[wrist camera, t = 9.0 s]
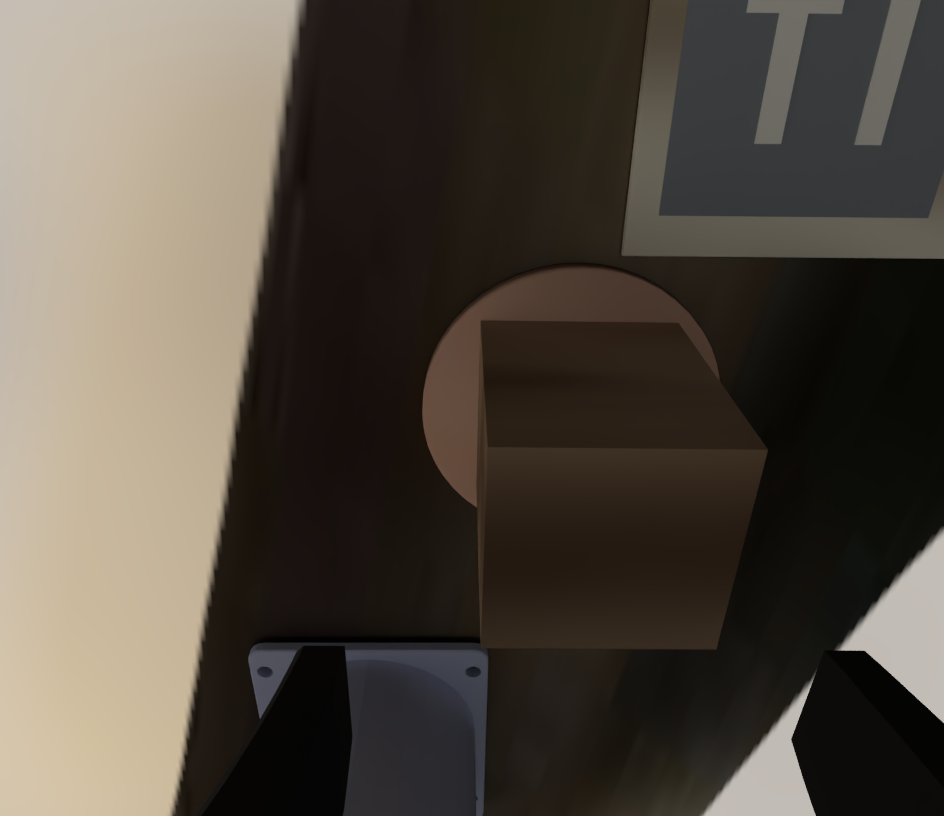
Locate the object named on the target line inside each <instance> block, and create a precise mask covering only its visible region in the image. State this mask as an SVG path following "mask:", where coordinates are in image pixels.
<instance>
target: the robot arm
mask: <svg viewBox="0 0 944 816" xmlns="http://www.w3.org/2000/svg"><path fill="white" fill-rule="evenodd" d="M248 661H249V667H250V672H251V677H252V682H253V687H254V692H255V697H256V702H257V707H258V712H259V717H260V720H259V721H258V723H257V725H256V726H255V728H254V730H253V731H252V733H251V735H250V736H249V738H248V739H247V741H246V742H245V744H244V745H243V747H242V749H241V750H240V752H239V753H238V755H237V756H236V758H235V760H234V761H233V763H232V764H231V766H230V767H229V769H228V771H227V772H226V774H225V775H224V777H223V778H222V780H221V781H220V783H219V784H218V786H217V787H216V789H215V790H214V792H213V793H212V795H211V796H210V798H209V799H208V800H207V802H206V803H205V805H204V806H203V807H202V809H201V810H200V812H199V813H198V814H197V816H482V815H483V808H484V778H485V747H486V717H487V686H488V651H487V649H486V648H481V644H479V643H259V644H256V645H254V646H253V647H252V649H251V651H250V654H249V658H248ZM265 667H268V668H265ZM470 667H476V668H470ZM791 740H792V743H793V746H794V750H795V753H796V756H797V759H798V763H799V766H800V769H801V773H802V776H803V779H804V782H805V785H806V788H807V791H808V794H809V797H810V800H811V803H812V806H813V808H814V812H815V814H816V816H944V723H943V722H942V721H941V720H940V719H938V718H937V717H936V716H935V715H934V714H933V713H932V712H931V711H930V710H929V709H928V708H927V707H926V706H924V705H923V704H922V703H921V702H920V701H919V700H918V699H917V698H916V697H915V696H914V695H913V694H912V693H910V692H909V691H908V690H907V689H906V688H905V687H904V686H903V685H902V684H901V683H900V682H899V681H897V680H896V679H895V678H894V677H893V676H892V675H891V674H890V673H889V672H888V671H887V670H885V669H884V668H883V667H882V666H881V665H880V664H879V663H878V662H877V661H875V660H874V659H873V658H872V657H871V656H870V655H869V654H867V653H866V652H865V651H824V653H823V656H822V659H821V661H820V664H819V667H818V669H817V672H816V675H815V677H814V680H813V683H812V685H811V688H810V691H809V694H808V696H807V699H806V701H805V704H804V707H803V709H802V712H801V715H800V717H799V720H798V723H797V725H796V729H795V731H794V734H793V736H792V739H791Z"/></svg>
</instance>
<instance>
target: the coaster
mask: <svg viewBox="0 0 944 816" xmlns="http://www.w3.org/2000/svg"><path fill="white" fill-rule="evenodd" d="M480 320H498V321H578V322H658V323H679V324H680V326H681V327H682V328H683V330H684V331H685V333H686V334H687V336H688V337H689V338H690V340H691V341H692V343H693V344H694V346H695V347H696V348H697V350H698V351H699V353H700V354H701V355H702V357H703V358H704V360H705V361H706V363H707V364H708V365H709V367H710V368H711V370H712V371H713V372H714V374H715V375H716V377H717V378H718V380H719V381H720V379H719V373H718V367H717V362H716V360H715V357H714V354H713V351H712V348H711V346H710V344H709V342H708V340H707V338H706V336H705V334H704V332H703V331H702V329H701V328H700V327H699V325H698V324H697V323H696V321H695V320H694V319H693V317H692V316H691V315H690V314H689V312H688V311H687V310H686V308H685V307H684V306H683V305H682V304H681V303H680V302H679V301H678V300H677V299H675V298H674V297H673V296H672V295H671V294H670V293H668V292H667V291H666V290H664V289H663V288H661V287H660V286H659V285H657V284H655V283H654V282H652V281H650V280H648V279H646V278H644V277H642V276H640V275H637V274H635V273H632V272H629V271H626V270H623V269H620V268H616V267H611V266H606V265H601V264H588V263H570V264H557V265H551V266H546V267H541V268H536V269H533V270H530V271H527V272H524V273H521V274H518V275H516V276H513V277H511V278H509V279H507V280H505V281H503V282H500V283H499V284H497V285H495V286H494V287H492V288H490V289H489V290H487V291H486V292H484V293H482V294H481V295H480V296H479V297H477V298H476V299H475V300H474V301H473V302H471V303H470V304H469V305H468V306H466V308H465V309H464V310H463V311H462V312H461V313H460V314H459V315H458V316H457V317H456V318H455V319H454V320H453V322H452V323H451V324H450V326H449V327H448V329H447V330H446V331H445V333H444V334H443V335H442V337H441V339H440V341H439V343H438V345H437V347H436V349H435V351H434V353H433V355H432V358H431V361H430V364H429V367H428V370H427V375H426V380H425V385H424V393H423V409H422V416H423V426H424V432H425V436H426V440H427V444H428V447H429V450H430V452H431V454H432V457H433V459H434V461H435V463H436V465H437V466H438V468H439V470H440V471H441V473H442V475H443V476H444V477H445V479H446V480H447V481H448V482H449V483H450V485H451V486H452V487H453V488H454V489H455V490H456V491H457V492H458V493H459V494H460V495H461V496H462V497H463V498H464V499H466V500H467V501H468V502H470V503H471V504H473V505H474V506H475V507H477V491H476V477H477V437H478V397H479V358H480Z"/></svg>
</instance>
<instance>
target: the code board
mask: <svg viewBox="0 0 944 816" xmlns="http://www.w3.org/2000/svg"><path fill="white" fill-rule="evenodd" d="M621 254H622V256H700V257H818V258H935V259H944V0H650V7H649V16H648V25H647V33H646V42H645V51H644V59H643V68H642V76H641V85H640V94H639V102H638V111H637V120H636V128H635V137H634V146H633V154H632V163H631V172H630V180H629V189H628V198H627V206H626V215H625V223H624V232H623V241H622V249H621Z"/></svg>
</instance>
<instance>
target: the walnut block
mask: <svg viewBox="0 0 944 816" xmlns="http://www.w3.org/2000/svg"><path fill="white" fill-rule="evenodd" d="M767 452H768V449H767V448H766V446H765V445H764V443H763V442H762V441H761V439H760V438H759V436H758V435H757V434H756V432H755V431H754V429H753V428H752V426H751V425H750V424H749V422H748V421H747V419H746V418H745V416H744V415H743V414H742V412H741V411H740V409H739V408H738V407H737V405H736V404H735V402H734V401H733V399H732V398H731V397H730V395H729V394H728V392H727V391H726V390H725V388H724V387H723V385H722V384H721V382H720V381H719V380H718V378H717V377H716V375H715V374H714V372H713V371H712V370H711V368H710V367H709V365H708V364H707V363H706V361H705V360H704V358H703V357H702V355H701V354H700V353H699V351H698V350H697V348H696V347H695V346H694V344H693V343H692V341H691V340H690V338H689V337H688V336H687V334H686V333H685V331H684V330H683V328H682V327H681V326H680V324H679V323H658V322H578V321H498V320H480V358H479V397H478V437H477V477H476V491H477V528H478V565H479V601H480V638H481V648H532V649H716V648H717V644H718V641H719V637H720V633H721V629H722V625H723V621H724V617H725V614H726V610H727V606H728V602H729V598H730V594H731V590H732V587H733V583H734V579H735V575H736V571H737V567H738V563H739V560H740V556H741V552H742V548H743V544H744V540H745V536H746V533H747V529H748V525H749V521H750V517H751V513H752V510H753V506H754V502H755V498H756V494H757V490H758V486H759V483H760V479H761V475H762V471H763V467H764V463H765V459H766V456H767Z"/></svg>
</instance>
